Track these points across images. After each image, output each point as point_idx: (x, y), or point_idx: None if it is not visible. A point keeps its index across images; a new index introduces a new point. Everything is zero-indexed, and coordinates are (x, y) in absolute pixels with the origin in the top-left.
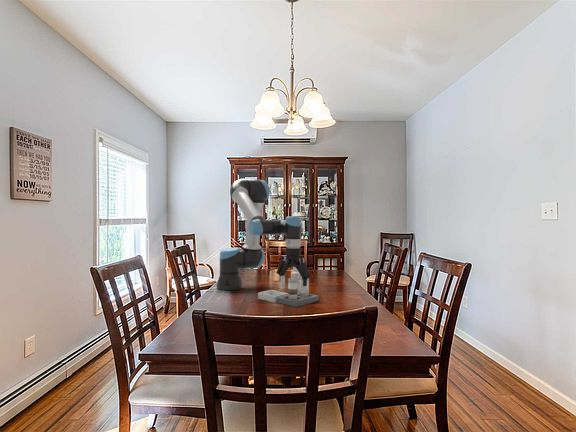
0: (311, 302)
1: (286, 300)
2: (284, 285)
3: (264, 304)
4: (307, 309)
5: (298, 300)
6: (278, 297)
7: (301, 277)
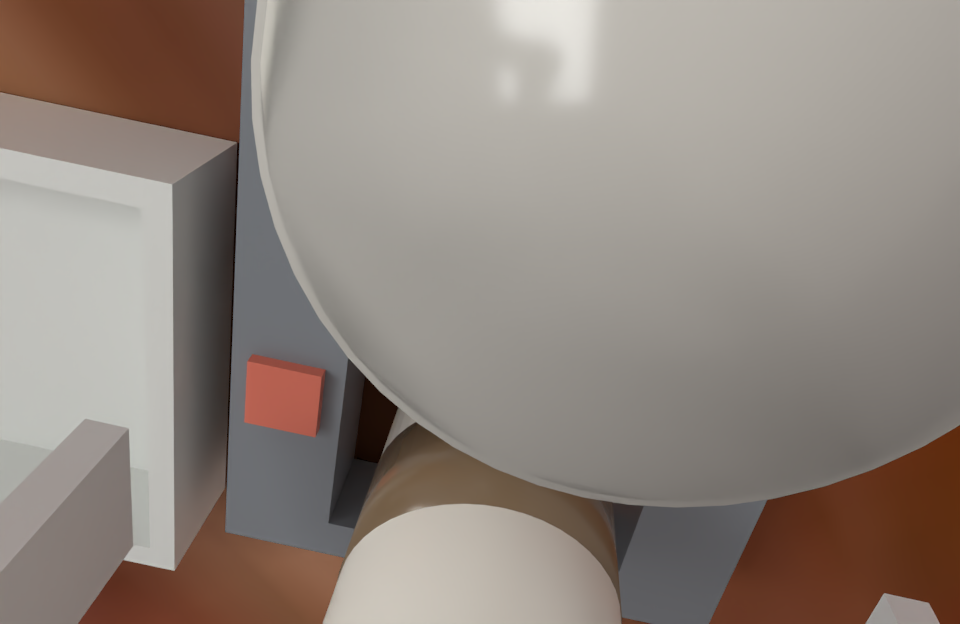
0: None
1: None
2: (75, 508)
3: (187, 621)
4: (937, 595)
5: (713, 548)
6: (232, 515)
7: (584, 483)
